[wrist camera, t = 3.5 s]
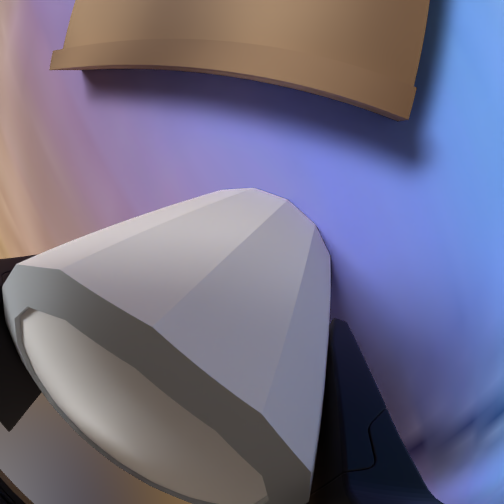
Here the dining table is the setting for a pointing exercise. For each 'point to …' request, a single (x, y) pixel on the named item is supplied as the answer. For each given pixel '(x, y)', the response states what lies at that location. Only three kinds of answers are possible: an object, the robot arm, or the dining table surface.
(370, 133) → the dining table surface
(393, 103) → the serving board
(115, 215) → the dining table surface
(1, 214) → the dining table surface
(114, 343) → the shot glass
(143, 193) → the dining table surface
